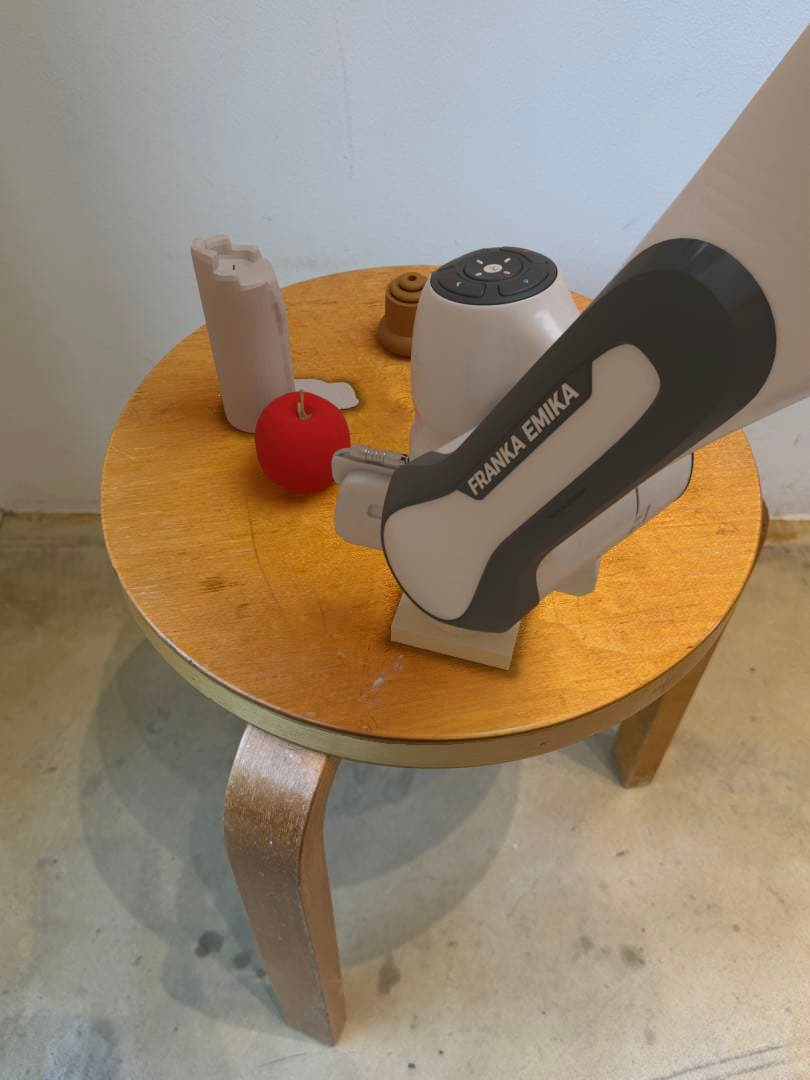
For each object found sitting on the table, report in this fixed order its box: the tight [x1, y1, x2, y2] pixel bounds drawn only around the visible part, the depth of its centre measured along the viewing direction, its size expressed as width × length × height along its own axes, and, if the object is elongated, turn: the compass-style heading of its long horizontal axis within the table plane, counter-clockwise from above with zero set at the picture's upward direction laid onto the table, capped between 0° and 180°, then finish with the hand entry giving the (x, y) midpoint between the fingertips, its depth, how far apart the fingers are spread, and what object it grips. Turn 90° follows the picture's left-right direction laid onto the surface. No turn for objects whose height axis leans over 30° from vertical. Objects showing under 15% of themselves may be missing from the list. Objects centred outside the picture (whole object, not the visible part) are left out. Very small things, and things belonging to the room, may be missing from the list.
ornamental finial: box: [377, 271, 429, 358], centre depth 93 cm, size 8×8×8 cm
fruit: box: [254, 389, 352, 494], centre depth 79 cm, size 9×9×10 cm
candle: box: [190, 233, 360, 434], centre depth 81 cm, size 7×14×20 cm, turn 105°
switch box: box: [390, 591, 522, 671], centre depth 71 cm, size 10×8×4 cm
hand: (461, 589), depth 69 cm, fingers closed, pressing on power button
